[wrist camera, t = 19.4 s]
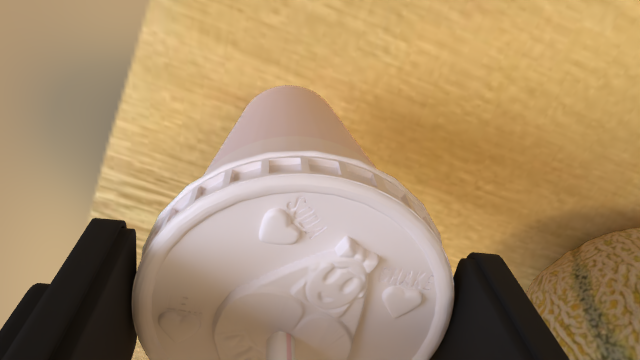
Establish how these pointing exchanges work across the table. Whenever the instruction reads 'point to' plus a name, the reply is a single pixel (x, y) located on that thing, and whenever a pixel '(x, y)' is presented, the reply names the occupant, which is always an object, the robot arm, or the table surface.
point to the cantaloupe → (594, 298)
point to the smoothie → (292, 250)
